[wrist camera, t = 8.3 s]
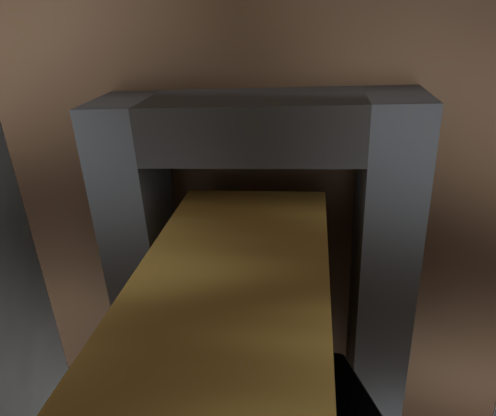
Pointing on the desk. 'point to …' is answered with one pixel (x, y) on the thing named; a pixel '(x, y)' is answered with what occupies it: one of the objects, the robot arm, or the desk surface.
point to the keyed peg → (217, 317)
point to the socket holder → (274, 160)
